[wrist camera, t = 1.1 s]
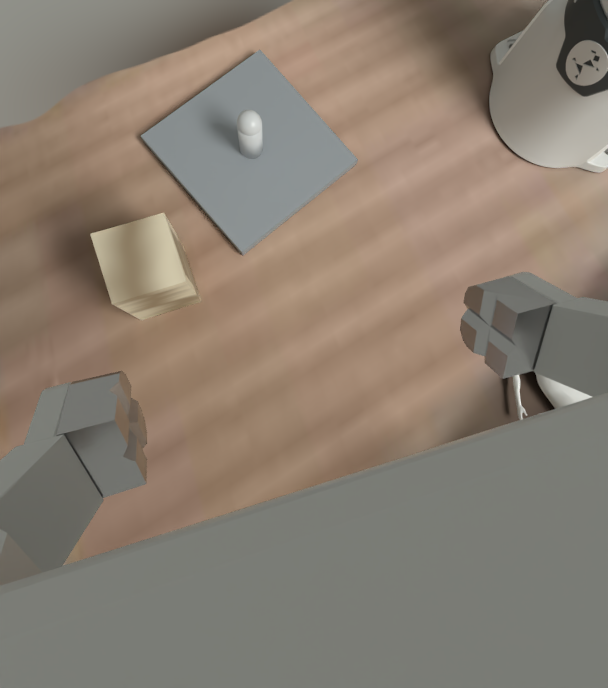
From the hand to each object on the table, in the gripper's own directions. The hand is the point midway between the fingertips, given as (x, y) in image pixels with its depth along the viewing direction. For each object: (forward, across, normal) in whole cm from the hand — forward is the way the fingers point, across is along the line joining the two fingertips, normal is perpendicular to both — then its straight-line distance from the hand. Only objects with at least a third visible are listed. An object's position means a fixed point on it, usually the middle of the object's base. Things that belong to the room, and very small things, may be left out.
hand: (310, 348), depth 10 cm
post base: (+41, -6, +3) cm, 41 cm away
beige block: (+34, +6, +12) cm, 37 cm away
